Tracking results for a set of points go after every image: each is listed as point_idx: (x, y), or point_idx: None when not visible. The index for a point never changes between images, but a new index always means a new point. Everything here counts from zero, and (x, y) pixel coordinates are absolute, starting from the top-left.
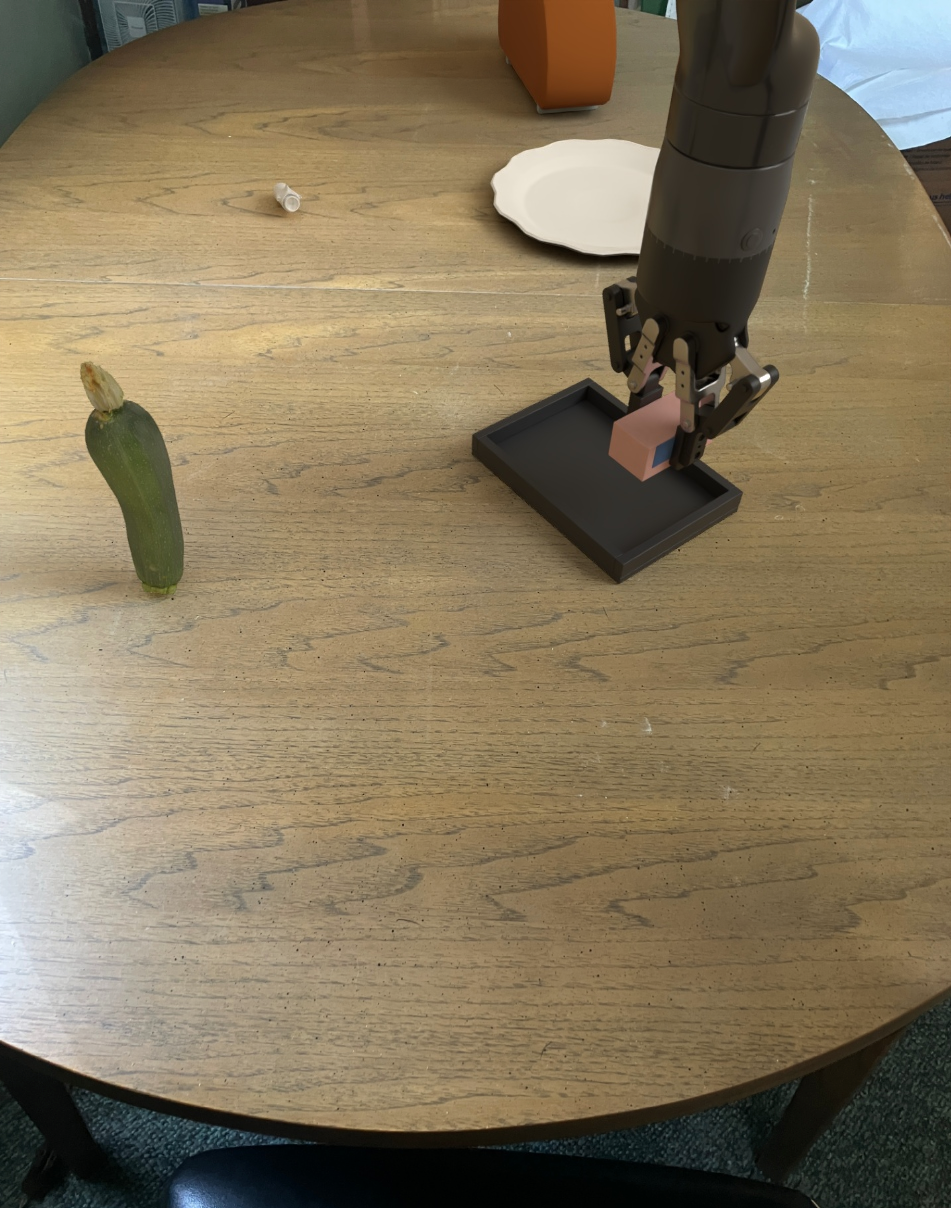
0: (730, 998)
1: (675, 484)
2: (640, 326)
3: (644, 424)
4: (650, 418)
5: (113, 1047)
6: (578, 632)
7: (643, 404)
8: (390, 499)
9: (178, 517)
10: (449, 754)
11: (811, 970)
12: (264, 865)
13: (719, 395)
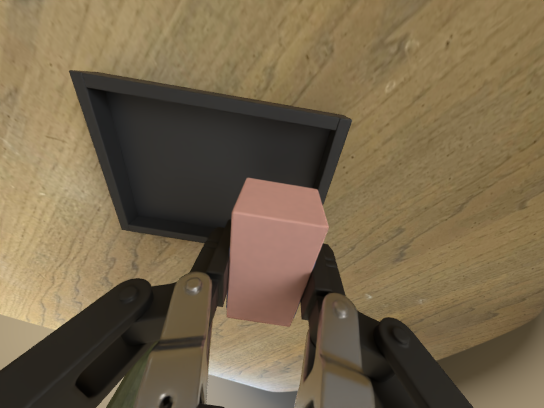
0: (443, 344)
1: (274, 138)
2: (58, 390)
3: (255, 305)
4: (253, 295)
5: (291, 389)
6: None
7: (226, 288)
8: (154, 270)
9: (139, 385)
10: (300, 333)
11: (475, 331)
12: (282, 366)
13: (361, 361)
